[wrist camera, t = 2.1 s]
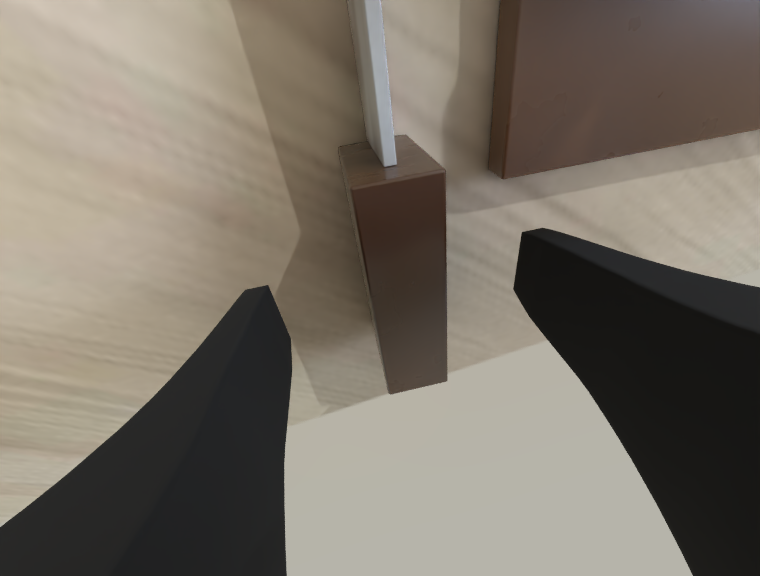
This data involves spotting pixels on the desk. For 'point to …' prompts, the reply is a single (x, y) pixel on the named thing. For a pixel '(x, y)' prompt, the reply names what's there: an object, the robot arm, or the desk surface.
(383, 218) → the knife
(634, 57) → the butter board
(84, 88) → the desk surface
